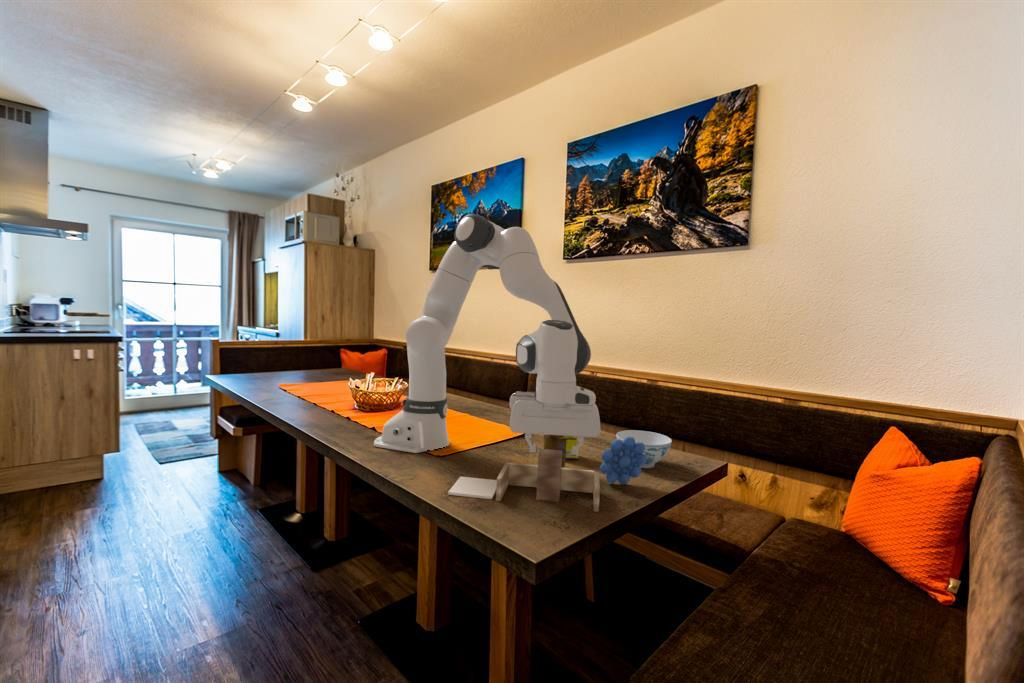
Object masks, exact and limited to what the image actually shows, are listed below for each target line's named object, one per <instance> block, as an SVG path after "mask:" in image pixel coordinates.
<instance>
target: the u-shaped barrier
mask: <svg viewBox="0 0 1024 683" xmlns="http://www.w3.org/2000/svg"><path fill="white" fill-rule="evenodd" d="M537 472H538V464H527V463H517V462H505V463H504V465H503V466H502V469H501V470H500V472H499V473H498V476H497V477H496V480H497V488H496V493H495V502H496V501H497V502H501V501H502V498H503V497H504V494H505V492H506V490H507V488H508V486H519V487H520V486H521V487H528V488H529V487H530V488H531V487H532V488H537ZM600 484H601V483H600V470H591V469H579V468H569V467H565V468H561V488H560V491H568V492H576V493H577V492H578V493H579V492H580V493H588V494H592V495H593V496H592V497H593V512H595V513H596V512H600V493H601V486H600Z"/></svg>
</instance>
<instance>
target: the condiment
mask: <svg viewBox="0 0 1024 683" xmlns="http://www.w3.org/2000/svg"><path fill="white" fill-rule="evenodd" d="M566 439H567V437H566V436H561V435H545V434H543V447H542V449H549V450H561V451H562V467H561V468H566V467H565V466H566V461H567V460H566V444H567V443H566Z"/></svg>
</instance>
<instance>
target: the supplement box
mask: <svg viewBox="0 0 1024 683" xmlns="http://www.w3.org/2000/svg"><path fill="white" fill-rule="evenodd" d="M566 437H567V439H566V443H567V444H566V460H565V461H578V462H579V459H580V458H579V457H580V450H579V451H578V456H572V446H576V445H577V443H578V442H579V441H578V437H577V436H566Z"/></svg>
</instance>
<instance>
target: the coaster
mask: <svg viewBox="0 0 1024 683" xmlns="http://www.w3.org/2000/svg"><path fill="white" fill-rule="evenodd" d="M496 488H497V479H490V478H487V479H486V478H479V477H469V476H459V478H457V480H456V481H455V483H453V486H452V487H450V489H449V490H448V491H447V495H450V496H457V497H458V496H459V497H467V498H475V499H477V498H478V499H483V500H484V499H485V500H493V499H494V497H495V496H496Z"/></svg>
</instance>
